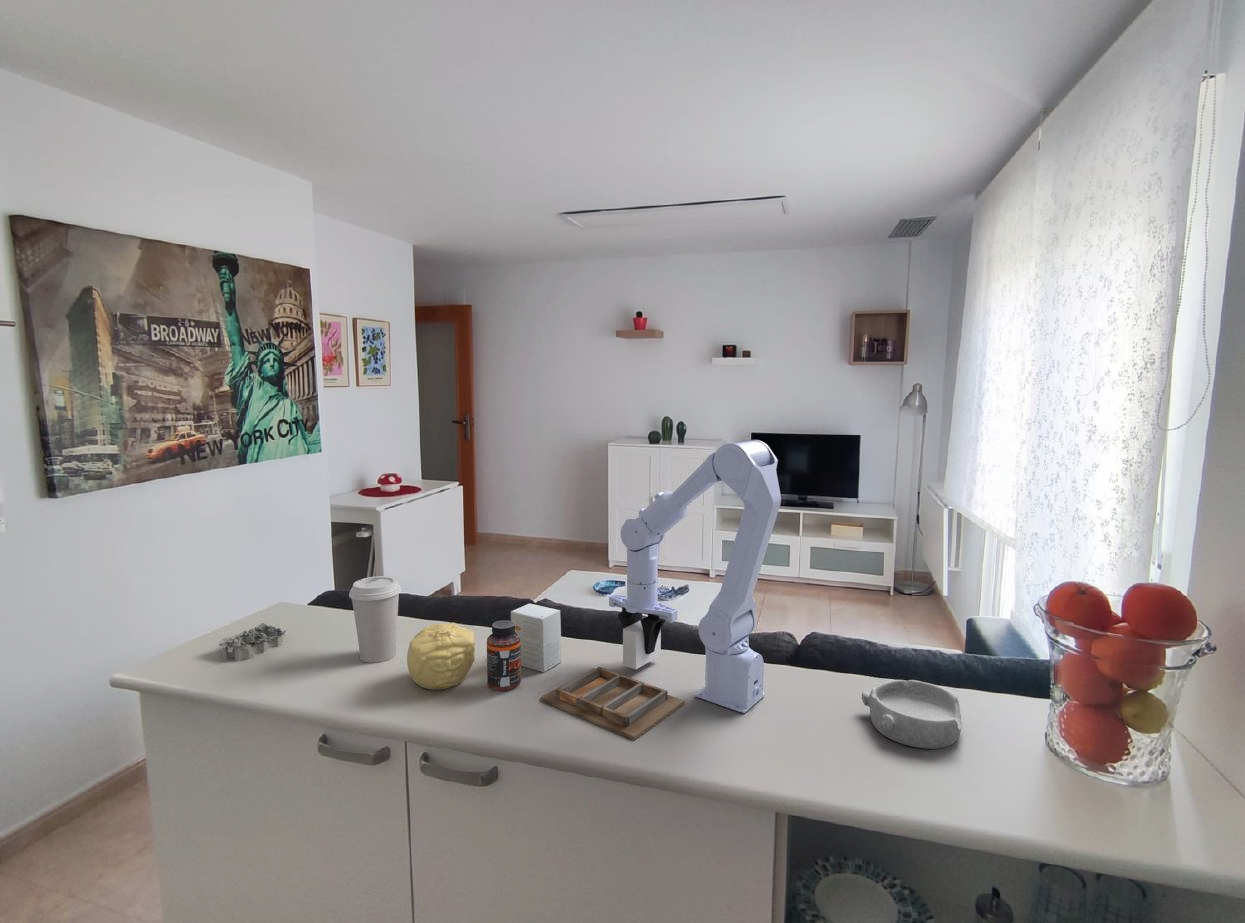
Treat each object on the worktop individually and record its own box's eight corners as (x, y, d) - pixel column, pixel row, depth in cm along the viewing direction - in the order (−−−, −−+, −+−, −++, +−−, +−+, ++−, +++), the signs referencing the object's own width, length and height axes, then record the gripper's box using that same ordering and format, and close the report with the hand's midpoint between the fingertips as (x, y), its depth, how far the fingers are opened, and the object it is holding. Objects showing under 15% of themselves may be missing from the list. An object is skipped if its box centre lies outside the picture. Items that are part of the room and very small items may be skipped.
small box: (562, 662, 122) (561, 610, 121) (543, 673, 117) (542, 619, 116) (530, 653, 126) (529, 602, 125) (511, 663, 122) (510, 610, 120)
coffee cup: (385, 642, 131) (382, 572, 130) (413, 653, 126) (411, 580, 124) (342, 658, 124) (338, 583, 122) (370, 670, 118) (366, 593, 116)
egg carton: (241, 664, 121) (239, 644, 121) (215, 658, 124) (213, 638, 124) (290, 643, 131) (288, 625, 131) (265, 638, 134) (263, 619, 134)
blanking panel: (660, 655, 122) (660, 620, 121) (635, 669, 116) (636, 632, 115) (647, 651, 124) (648, 616, 123) (622, 665, 118) (622, 629, 117)
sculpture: (415, 703, 106) (412, 641, 105) (402, 675, 117) (400, 618, 115) (482, 688, 112) (480, 629, 110) (464, 662, 122) (463, 608, 121)
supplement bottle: (513, 694, 109) (512, 631, 108) (481, 691, 110) (480, 628, 109) (526, 679, 115) (525, 619, 114) (495, 676, 116) (493, 616, 115)
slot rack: (684, 704, 106) (684, 692, 106) (634, 740, 95) (634, 727, 95) (593, 671, 118) (593, 660, 118) (540, 700, 107) (539, 688, 107)
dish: (949, 710, 104) (951, 682, 104) (978, 758, 91) (980, 725, 90) (857, 701, 107) (858, 673, 107) (871, 747, 94) (873, 715, 93)
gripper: (598, 578, 119) (599, 647, 121) (662, 593, 110) (661, 667, 112) (621, 569, 125) (621, 635, 126) (683, 583, 116) (683, 654, 118)
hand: (642, 650), depth 120 cm, fingers closed on blanking panel, 3 cm apart
